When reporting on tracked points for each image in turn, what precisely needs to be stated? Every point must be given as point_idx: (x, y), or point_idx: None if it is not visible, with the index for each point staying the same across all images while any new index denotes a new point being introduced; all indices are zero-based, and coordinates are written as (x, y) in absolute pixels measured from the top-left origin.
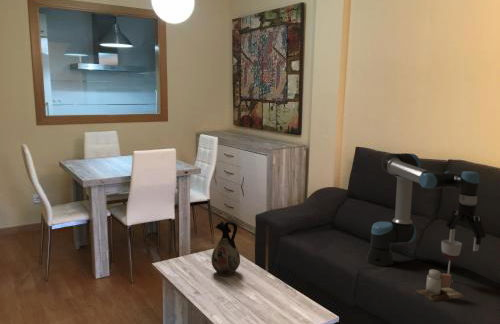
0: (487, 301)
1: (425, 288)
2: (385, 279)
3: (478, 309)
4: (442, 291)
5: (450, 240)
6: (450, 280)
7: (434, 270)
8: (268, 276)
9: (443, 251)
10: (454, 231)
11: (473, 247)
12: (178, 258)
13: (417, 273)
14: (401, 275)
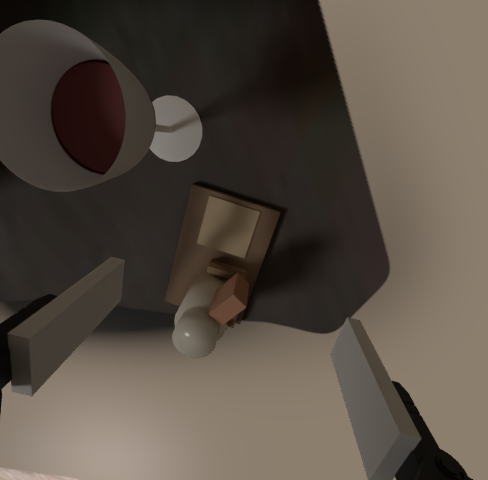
0: (337, 170)
1: (173, 265)
2: None
3: (337, 254)
4: (229, 277)
5: (112, 307)
6: (246, 297)
7: (186, 332)
8: None
9: (84, 173)
10: (54, 328)
11: (339, 376)
12: None
13: None
14: (60, 221)
